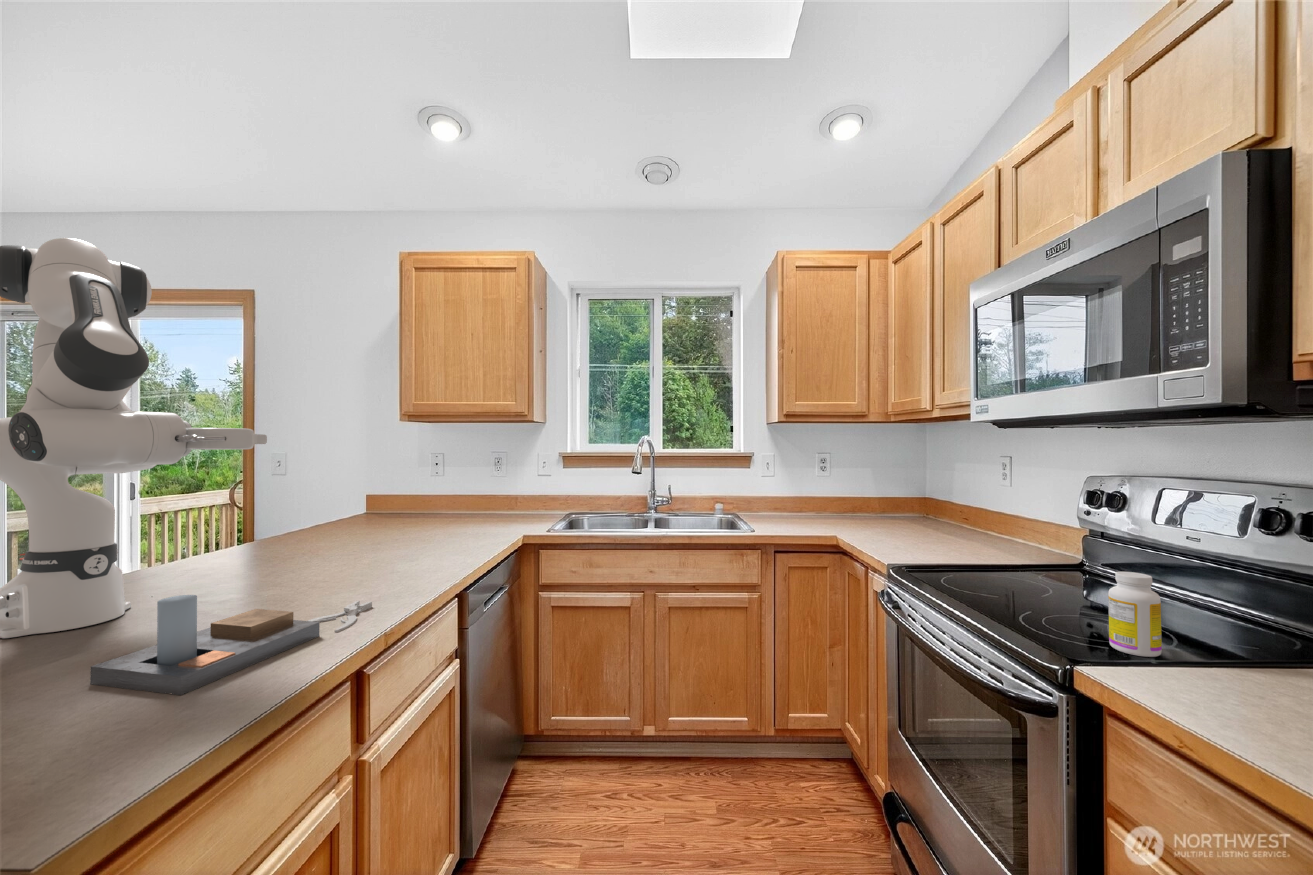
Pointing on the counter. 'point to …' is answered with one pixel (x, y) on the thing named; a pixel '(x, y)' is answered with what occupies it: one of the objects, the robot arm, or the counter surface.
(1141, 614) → the supplement bottle
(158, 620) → the peg
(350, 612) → the pliers
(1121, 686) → the counter surface
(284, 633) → the rack
